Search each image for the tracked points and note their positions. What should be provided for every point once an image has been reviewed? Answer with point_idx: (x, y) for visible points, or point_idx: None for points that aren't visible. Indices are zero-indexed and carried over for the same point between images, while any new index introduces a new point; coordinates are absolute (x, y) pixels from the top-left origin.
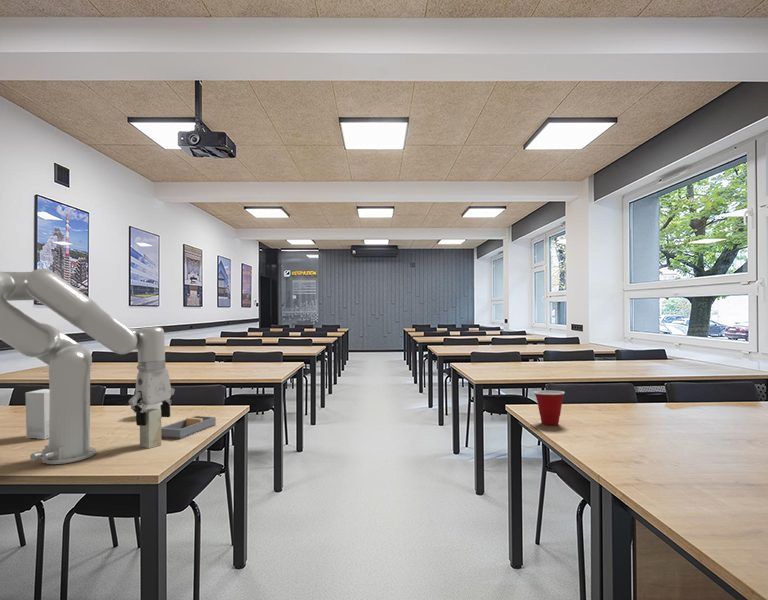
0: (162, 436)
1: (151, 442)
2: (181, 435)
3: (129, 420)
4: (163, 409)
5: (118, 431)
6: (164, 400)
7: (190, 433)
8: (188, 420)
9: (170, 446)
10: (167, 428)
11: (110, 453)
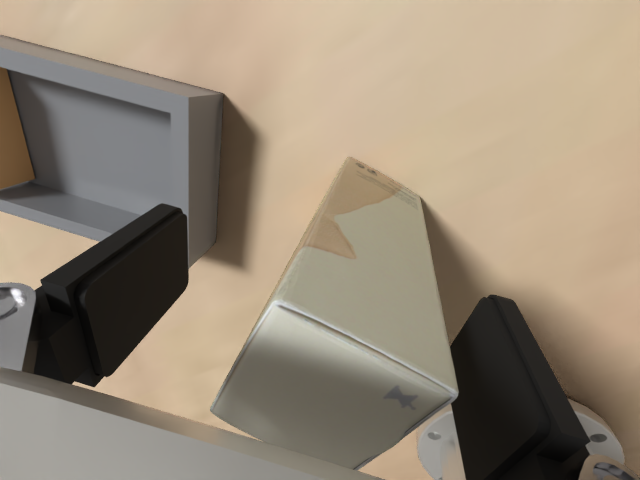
0: (213, 223)
1: (408, 200)
2: (200, 91)
3: None
4: (138, 310)
5: (181, 409)
6: (122, 408)
7: (123, 69)
8: None
9: (381, 72)
10: None
11: None
